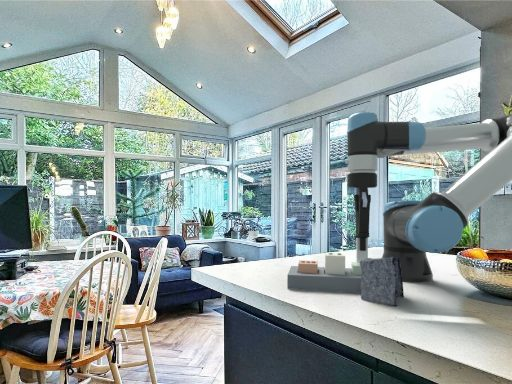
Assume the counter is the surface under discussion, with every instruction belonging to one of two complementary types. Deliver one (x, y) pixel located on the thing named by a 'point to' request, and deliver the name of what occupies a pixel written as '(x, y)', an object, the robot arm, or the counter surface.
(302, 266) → the tile three
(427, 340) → the counter surface
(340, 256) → the tile two
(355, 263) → the tile one
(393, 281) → the stone
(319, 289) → the key board
